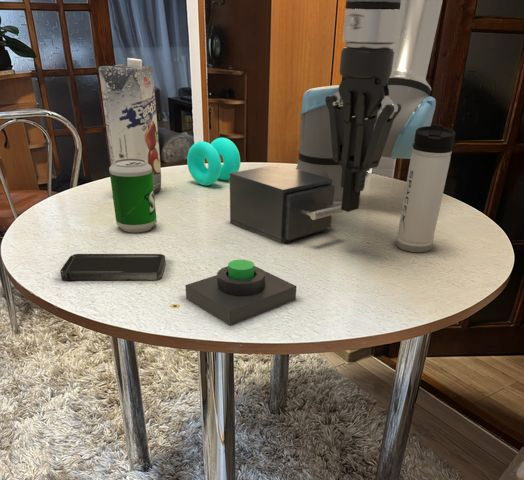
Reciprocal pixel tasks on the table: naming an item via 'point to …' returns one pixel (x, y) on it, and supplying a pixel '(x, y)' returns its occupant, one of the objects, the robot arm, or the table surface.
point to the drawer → (309, 211)
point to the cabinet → (267, 198)
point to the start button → (241, 269)
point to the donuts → (213, 161)
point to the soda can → (133, 194)
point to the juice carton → (131, 114)
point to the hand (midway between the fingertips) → (349, 209)
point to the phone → (114, 267)
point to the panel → (240, 295)
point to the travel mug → (424, 187)
